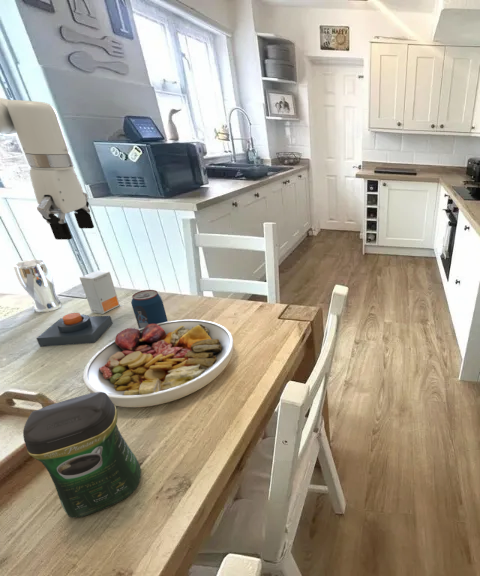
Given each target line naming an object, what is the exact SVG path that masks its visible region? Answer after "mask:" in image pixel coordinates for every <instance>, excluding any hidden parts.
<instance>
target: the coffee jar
mask: <svg viewBox="0 0 480 576" xmlns="http://www.w3.org/2000/svg"><path fill="white" fill-rule="evenodd" d="M117 423H118V410H117V406H115V405H114V404H113V402H112V401H111V400H110V398H109V397H108V395H107V394H106V393H104V392H95V393H90V392H89V393H87V394H83V395H78V396H76V397H75V396H74V397H72V398H68V399H65V400H62V401H59V402H55V403H52V404H50V405H46V406H44V407H41V408H39V409H36V410H33V411H31V413H30V414H29V416H28V417H27V419H26V421H25V423H24V426H23V430H22V437H23V441H24V444H25V448H26V451H27V453H28V455H29V456H30V457H32V458H33V459H35V460H37V461H38V462H40V463H41V464H42V465H43V466H44V467H45V469H46V470H47V472H48V474H49V476H50V478H51V480H52V482H53V485H54V487H55V491H56V493H57V496H58V498H59V502H60V504H61V506H62V508H63V510H64V512H65V514H66V516H68V517H70V518H74V519H79V518H83V517H86V516H89V515H92V514H95V513H98V512H100V511H103V510H104V509H107V508H109V507H112V506H113V505H116V504H117V503H119V502H121V501H124V500H125V499H127V498H128V497H130V496H131V495H132V494H133V493H134V492H135V491H136V489H137V488H138V487H139V484H140V482H141V476H142V475H141V474H142V470H141V464H140V463H139V460H138V459H137V457H136V455H135V454H134V452H133V450H132V449H131V448H130V446H129V445H128V443H127V442H126V440H125V438H124V437H123V435H122V434H121V432H120V430H119V428H118V425H117Z"/></svg>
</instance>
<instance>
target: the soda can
mask: <svg viewBox="0 0 480 576" xmlns="http://www.w3.org/2000/svg"><path fill="white" fill-rule="evenodd" d="M131 298H132V299H131V302H130V303H131V307H132V310H133V314H134V317H135V320H136V323H137V327H138V329H141V328H144V327H146V326H147V325H149V324H152V323H153V324H159V323H164V322H169V321H168V316H167V313H166V309H165V306H164V302H163V301H164V300H163V298H162V296H161V295H160V294H159V292H158V290H156V289H143V290H140V291H137V292H135V293H134V294H132V296H131Z"/></svg>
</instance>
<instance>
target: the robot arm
mask: <svg viewBox="0 0 480 576" xmlns="http://www.w3.org/2000/svg"><path fill="white" fill-rule="evenodd" d="M0 136H17V137H18V140H19V143H20V145H21V148H22V150H23V153H24V155H25V158H26V161H27V164H28V166H29V168H30V169H29V176H30V180H31V185H32V188H33V192H34V195H35V196H34V197H35V199H36V202H37V207H36V208H37V211H38V212H39V213H40V216H42V219H44V220H45V221H46V223H47V224H48V225H49V227H50V230H51V232H52V234H53V237H54V239H55V240H61V241H62V240H65V241H67V240H72V239H73V235H72V232H71V230H70V227H69V224H68V223H67V222H65V219H66V214H70V213H73V212H74V213H73V215H74V217H75V220H76V223H77V226H78V228H79V229H94V228H95V225H94V222H93V219H92V216H91V209H90V208H89V206H90V202H89V195H88V194H87V193H86V192H84V190H83V187H82V184H81V182H80V180H79V177H78V175H77V173H76V171H75V166H74V162H73V159H72V156H71V153H70V150H69V147H68V144H67V141H66V137H65V134H64V132H63V128H62V125H61V122H60V119H59V116H58V113H57V110H56V108H55V107H53V105H51V104H50V103H47V102H43V101H34V100H23V99H8V98H3V97H0ZM57 215H58V216H57Z"/></svg>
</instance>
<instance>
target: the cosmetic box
mask: <svg viewBox="0 0 480 576" xmlns="http://www.w3.org/2000/svg"><path fill="white" fill-rule="evenodd" d="M79 280H80V283H81V286H82V289H83V291H84V294H85V297H86V300H87V303H88V306H89V309H90V311H91V313H94V314H99V315H104V314H107V312H110V311H112V310H113V309H116V308H118V307H120V300H119V297H118V295H117V291H116V288H115V285H114V281H113V278H112V275H111V272H110V271H106V270H101V269H97V270H95V271H92V272H89V273H87V274H85V275H82V276H79Z"/></svg>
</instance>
